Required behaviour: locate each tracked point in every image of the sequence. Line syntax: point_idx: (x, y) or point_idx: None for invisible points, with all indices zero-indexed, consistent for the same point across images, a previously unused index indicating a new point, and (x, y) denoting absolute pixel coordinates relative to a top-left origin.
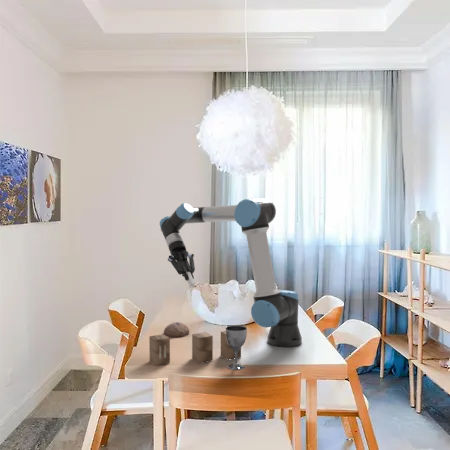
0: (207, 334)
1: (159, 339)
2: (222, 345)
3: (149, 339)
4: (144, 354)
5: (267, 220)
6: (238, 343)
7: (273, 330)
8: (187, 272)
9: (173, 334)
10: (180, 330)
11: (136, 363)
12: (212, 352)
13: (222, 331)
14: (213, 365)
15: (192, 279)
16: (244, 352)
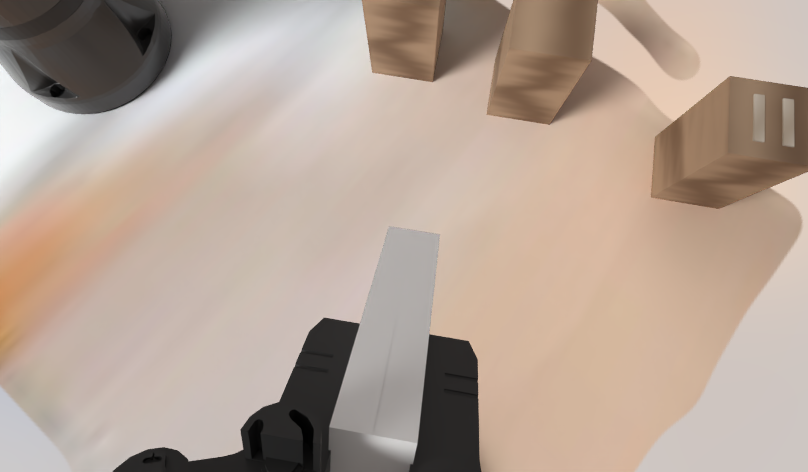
0: (527, 10)
1: (789, 88)
2: (438, 36)
3: (802, 173)
4: (700, 303)
5: None
6: None
7: (114, 12)
8: (415, 427)
9: None
10: None
11: (778, 222)
12: (502, 37)
13: (430, 4)
14: None
15: (390, 275)
16: (328, 54)
